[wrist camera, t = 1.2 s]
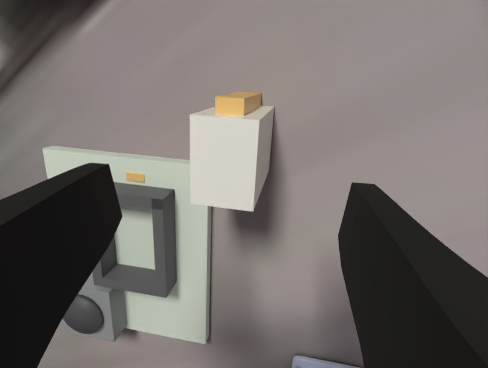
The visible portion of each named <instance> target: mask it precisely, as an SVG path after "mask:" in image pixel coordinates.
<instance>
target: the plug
mask: <svg viewBox="0 0 488 368" xmlns="http://www.w3.org/2000/svg"><path fill="white" fill-rule="evenodd" d="M261 94H262V93H253V92H236V93H231V94H226V95H221V96H216V97H215V107H213V108H210V109H207V110H203V111H200V112H197V113H194V114H190V204H197V205H205V206H213V207H221V208H229V209H237V210H244V211H252V212H253V211H254V208H255V205H256V203H257V200H258V198H259V195H260V193H261V190H262V188H263V185H264V182H265V180H266V177H267V175H268V172H269V164H270V152H271V140H272V129H273V117H274V107H271V106H261Z"/></svg>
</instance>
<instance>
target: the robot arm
mask: <svg viewBox="0 0 488 368" xmlns="http://www.w3.org/2000/svg"><path fill="white" fill-rule="evenodd" d="M122 217H123V216H122V212H121V208H120V204H119V201H118V197H117V193H116V189H115V185H114V181H113V178H112V174H111V170H110V166H109V164H102V163H87V164H84V165H81V166H78V167H76V168H73V169H71V170H68V171H66V172H63V173H61V174H59V175H56V176H54V177H52V178H50V179H47V180H45V181H43V182H41V183H38V184H36V185H34V186H32V187H29V188H27V189H25V190H23V191H20V192H18V193H16V194H13V195H11V196H9V197H6V198H4V199H1V200H0V368H37V367H38V365H39V362H40V360H41V358H42V356H43V354H44V352H45V351H46V349H47V347H48V345H49V343H50V341H51V339H52V337H53V335H54V333H55V331H56V329H57V327H58V326H59V324H60V322H61V320H62V319H63V317H64V315H65V314H66V312H67V310H68V308H69V307H70V305H71V304H72V302H73V301H74V299H75V298H76V296H77V295H78V293H79V292H80V290H81V289H82V287H83V285H84V284H85V282H86V281H87V279H88V278H89V276H90V275H91V273H92V272H93V270H94V269H95V267H96V266H97V264H98V262H99V261H100V259H101V258H102V256H103V255H104V253H105V251H106V250H107V248H108V247H109V245H110V243H111V241H112V239H113V237H114V235H115V233H116V231H117V228H118V226H119V224H120V221H121V219H122ZM338 240H339V251H340V259H341V267H342V272H343V276H344V280H345V284H346V289H347V293H348V297H349V301H350V305H351V309H352V313H353V317H354V321H355V325H356V329H357V334H358V338H359V342H360V347H361V352H362V357H363V362H364V368H488V277H486V276H485V275H483V274H482V273H481V272H479V271H478V270H476V269H475V268H474V267H472V266H471V265H470V264H468V263H467V262H466V261H464V260H463V259H462V258H461V257H459V256H458V255H457V254H456V253H454V252H453V251H452V250H450V249H449V248H448V247H447V246H445V245H444V244H443V243H442V242H440V241H439V240H438V239H437V238H436V237H434V236H433V235H432V234H431V233H430V232H428V231H427V230H426V229H425V228H424V227H423V226H421V225H420V224H419V223H418V222H417V221H416V220H415V219H413V218H412V217H411V216H410V215H409V214H408V213H407V212H406V211H404V210H403V209H402V208H401V207H400V206H399V205H398V204H397V203H396V202H394V201H393V200H392V199H391V198H390V197H389V196H388V195H387V194H385V193H384V192H383V191H382V190H381V189H380V188H378V187H377V186H376V185H375V184H365V183H352V184H351V188H350V192H349V196H348V200H347V204H346V208H345V211H344V215H343V219H342V223H341V227H340V231H339V234H338ZM291 368H360V367H355V366H350V365H345V364H340V363H334V362H329V361H324V360H319V359H314V358H309V357H304V356H299V355H297V356H294V357H293V360H292V367H291Z"/></svg>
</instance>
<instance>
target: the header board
mask: <svg viewBox="0 0 488 368" xmlns="http://www.w3.org/2000/svg"><path fill="white" fill-rule="evenodd" d="M43 154H44V160H45V166H46V172H47V177H48V179H50V178H52V177H54V176H56V175H59V174H61V173H63V172H66V171H68V170H71V169H73V168H76V167H78V166H81V165H84V164H87V163H102V164H109V166H110V170H111V174H112V178H113V181H114V185H115V189H116V193H117V197H118V201H119V204H120V208H121V212H122V216H123V217H122V219H121V221H120V224H119V226H118V228H117V231H116V233H115V235H114V237H113V239H112V241H111V243H110V245H109V247H108V248H107V250H106V251H105V253H104V255H103V256H102V258H101V259H100V261H99V262H98V264H97V266H96V267H95V269H94V270H93V272H92V273H91V275H90V276H89V278H88V279H87V281H86V282H85V284H84V285H83V287H82V289H81V290H80V292H79V293H78V295H77V296H76V298H75V299H74V301H73V302H72V304H71V305H70V307H69V308H68V310H67V312H66V314H65V315H64V317H63V319H62V320H61V322H60V327H61V331H64V332H69V333H74V334H79V335H83V336H88V337H93V338H97V339H102V340H107V341H112V342H115V340H116V339H117V338H118V336H119V335H120V334H121V332H122V331H123V329H124V328H127V329H132V330H137V331H142V332H147V333H152V334H157V335H162V336H167V337H172V338H177V339H182V340H187V341H192V342H197V343H202V344H206V342H207V339H208V337H209V309H210V258H211V207H212V206H205V205H197V204H190V160H183V159H173V158H163V157H154V156H144V155H135V154H125V153H115V152H106V151H96V150H87V149H77V148H68V147H58V146H51V147H47V148H43Z"/></svg>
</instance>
